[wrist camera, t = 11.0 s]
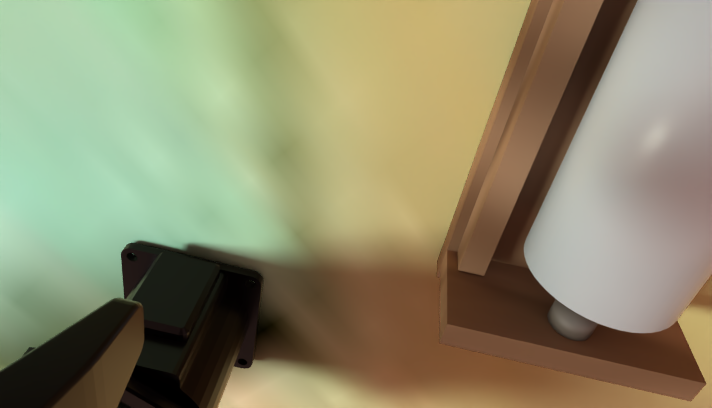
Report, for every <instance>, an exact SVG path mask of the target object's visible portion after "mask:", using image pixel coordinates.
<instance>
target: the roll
mask: <svg viewBox="0 0 712 408" xmlns="http://www.w3.org/2000/svg"><path fill="white" fill-rule="evenodd" d="M524 256H525V259H526V263H527V265H528V267H529V269H530V271H531V272H532V274H533V275H534V277H535V278H536V279H537V281H538V282H539V283H540V284H541V285H542V286H543V287H544V289H545V290H546V291H547V292H548V293H550V294H551V295H552V296H553V297H554V298H555V299H557V300H558V301H559V302H561V303H562V304H563V305H565V306H566V307H568V308H569V309H571V310H572V311H574V312H576V313H578V314H579V315H581V316H583V317H585V318H587V319H589V320H591V321H594V322H596V323H598V324H601V325H604V326H607V327H609V328H613V329H617V330H620V331H626V332H632V333H654V332H659V331H662V330H665V329H667V328H669V327H670V326H672V325H673V324H674V323H675V322H676V321H677V320H678V318H679V317H680V316H681V314H682V313H683V312H684V311H685V309H686V308H687V307H688V305H689V304H690V303H691V301H692V300H693V299H694V297H695V296H696V295H697V293H698V292H699V291H700V289H701V288H702V287H703V285H704V284H705V283H706V281H707V280H708V279H709V277H710V276H711V275H712V0H638V1H637V3H636V5H635V7H634V9H633V11H632V13H631V16H630V18H629V20H628V22H627V24H626V26H625V28H624V31H623V33H622V35H621V37H620V39H619V41H618V43H617V45H616V48H615V50H614V52H613V54H612V56H611V58H610V60H609V63H608V65H607V67H606V69H605V71H604V73H603V75H602V78H601V80H600V82H599V84H598V86H597V88H596V90H595V93H594V95H593V97H592V99H591V101H590V103H589V105H588V108H587V110H586V112H585V114H584V116H583V118H582V120H581V123H580V125H579V127H578V129H577V131H576V133H575V135H574V137H573V140H572V142H571V144H570V146H569V148H568V150H567V152H566V155H565V157H564V159H563V161H562V163H561V165H560V167H559V170H558V172H557V174H556V176H555V178H554V180H553V182H552V185H551V187H550V189H549V191H548V193H547V195H546V197H545V200H544V202H543V204H542V206H541V208H540V210H539V212H538V214H537V217H536V219H535V221H534V223H533V225H532V227H531V229H530V232H529V234H528V236H527V238H526V241H525V243H524Z"/></svg>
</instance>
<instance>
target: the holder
mask: <svg viewBox="0 0 712 408" xmlns="http://www.w3.org/2000/svg"><path fill="white" fill-rule="evenodd" d="M637 1H638V0H531V3H530V6H529V9H528V11H527V14H526V17H525V20H524V22H523V25H522V28H521V31H520V34H519V36H518V39H517V42H516V45H515V47H514V50H513V53H512V56H511V58H510V61H509V64H508V67H507V70H506V72H505V75H504V78H503V81H502V83H501V86H500V89H499V92H498V94H497V97H496V100H495V103H494V106H493V108H492V111H491V114H490V117H489V119H488V122H487V125H486V128H485V131H484V133H483V136H482V139H481V142H480V144H479V147H478V150H477V153H476V155H475V158H474V161H473V164H472V167H471V169H470V172H469V175H468V178H467V180H466V183H465V186H464V189H463V191H462V194H461V197H460V200H459V203H458V205H457V208H456V211H455V214H454V216H453V219H452V222H451V225H450V227H449V230H448V233H447V236H446V239H445V241H444V244H443V247H442V250H441V252H440V255H439V258H438V261H437V277H439V278H440V325H439V343H440V344H445V345H449V346H453V347H458V348H462V349H466V350H471V351H475V352H479V353H484V354H488V355H492V356H497V357H501V358H505V359H510V360H514V361H518V362H523V363H527V364H531V365H535V366H540V367H544V368H548V369H553V370H557V371H561V372H566V373H570V374H574V375H579V376H583V377H587V378H592V379H596V380H600V381H605V382H609V383H613V384H618V385H622V386H626V387H631V388H635V389H639V390H644V391H648V392H652V393H657V394H661V395H665V396H670V397H674V398H678V399H683V400H687V401H692V399H693V398H694V397H695V396H696V395H697V394H698V393H699V392H700V390H701V389H702V388H703V387H704V386H705V385H706V382H705V380H704V378H703V375H702V373H701V371H700V369H699V367H698V365H697V362H696V360H695V358H694V356H693V354H692V352H691V349H690V347H689V345H688V343H687V341H686V338H685V336H684V334H683V332H682V330H681V328H680V325H679V323H678V321H676V322H675V323H674V324H673V325H672V326H670V327H669V328H667V329H665V330H662V331H659V332H654V333H632V332H626V331H620V330H617V329H613V328H609V327H607V326H604V325H601V324H598V323H596V322H594V321H591V320H589V319H587V318H585V317H583V316H581V315H579V314H578V313H576V312H574V311H572V310H571V309H569V308H568V307H566V306H565V305H563V304H562V303H561V302H559V301H558V300H557V299H555V298H554V297H553V296H552V295H551V294H550V293H548V292H547V291H546V290H545V289H544V287H543V286H542V285H541V284H540V283H539V282H538V281H537V279H536V278H535V277H534V275H533V274H532V272H531V271H530V269H529V267H528V265H527V263H526V259H525V256H524V243H525V241H526V238H527V236H528V234H529V232H530V229H531V227H532V225H533V223H534V221H535V219H536V217H537V214H538V212H539V210H540V208H541V206H542V204H543V202H544V200H545V197H546V195H547V193H548V191H549V189H550V187H551V185H552V182H553V180H554V178H555V176H556V174H557V172H558V170H559V167H560V165H561V163H562V161H563V159H564V157H565V155H566V152H567V150H568V148H569V146H570V144H571V142H572V140H573V137H574V135H575V133H576V131H577V129H578V127H579V125H580V123H581V120H582V118H583V116H584V114H585V112H586V110H587V108H588V105H589V103H590V101H591V99H592V97H593V95H594V93H595V90H596V88H597V86H598V84H599V82H600V80H601V78H602V75H603V73H604V71H605V69H606V67H607V65H608V63H609V60H610V58H611V56H612V54H613V52H614V50H615V48H616V45H617V43H618V41H619V39H620V37H621V35H622V33H623V31H624V28H625V26H626V24H627V22H628V20H629V18H630V16H631V13H632V11H633V9H634V7H635V5H636V3H637Z"/></svg>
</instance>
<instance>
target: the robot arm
mask: <svg viewBox="0 0 712 408" xmlns="http://www.w3.org/2000/svg"><path fill="white" fill-rule="evenodd" d="M132 253H133V254H135V255H136V256H135V255H133V254H132ZM121 260H122V273H123V286H124V299H123V298H114V299H112V300H110V301H109V302H107V303H105V304H104V305H102V306H101V307H99V308H98V309H96V310H94V311H93V312H91V313H90V314H88V315H87V316H85V317H83V318H82V319H80V320H79V321H77V322H76V323H74V324H73V325H71V326H69V327H68V328H66V329H65V330H63V331H62V332H60V333H58V334H57V335H55V336H54V337H52V338H51V339H49V340H47V341H46V342H44V343H43V344H41V345H40V346H38V347H37V348H32V347H29V348H28V350H27V351H26V352H25V353H24V355H23V356H22V357H21V358H19V359H18V360H16V361H15V362H13V363H11V364H10V365H8V366H7V367H5V368H4V369H2V370H1V371H0V408H218V405H219V403H220V400H221V398H222V395H223V392H224V390H225V387H226V385H227V382H228V380H229V377H230V374H231V372H232V369H233V367H234V366H235V367H239V368H249V367H251V365H252V363H253V360H254V355H255V347H256V339H257V331H258V323H259V315H260V307H261V299H262V291H263V283H264V280H263V277H262V275H261V274H260V273H258V272H256V271H253V270H249V269H245V268H240V267H236V266H232V265H227V264H223V263H219V262H214V261H210V260H206V259H201V258H197V257H193V256H188V255H184V254H180V253H175V252H171V251H167V250H162V249H158V248H154V247H149V246H145V245H141V244H136V243H129V244H127V245H126V246H125V248H124V249H123V250H122V252H121ZM249 280H251V281H254V282H255V283H252V282H250V281H249Z"/></svg>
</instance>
